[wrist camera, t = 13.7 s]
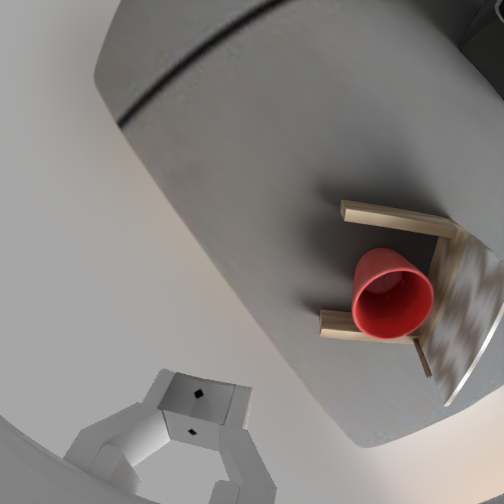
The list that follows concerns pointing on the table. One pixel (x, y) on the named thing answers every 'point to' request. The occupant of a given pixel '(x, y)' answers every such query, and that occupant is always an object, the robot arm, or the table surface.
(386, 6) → the table surface
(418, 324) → the flower pot
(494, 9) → the flower pot
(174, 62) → the table surface
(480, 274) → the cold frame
